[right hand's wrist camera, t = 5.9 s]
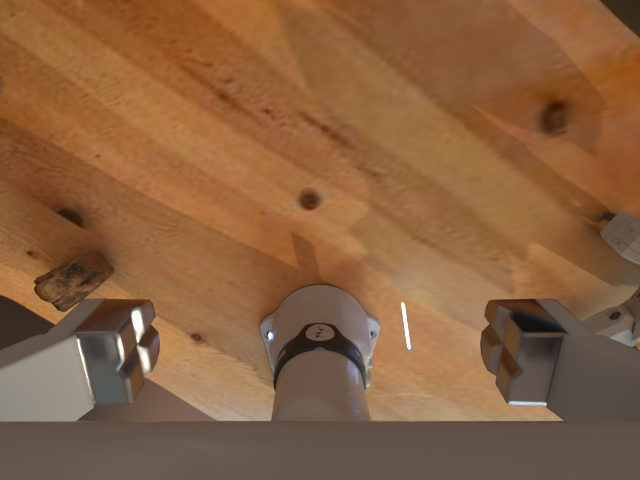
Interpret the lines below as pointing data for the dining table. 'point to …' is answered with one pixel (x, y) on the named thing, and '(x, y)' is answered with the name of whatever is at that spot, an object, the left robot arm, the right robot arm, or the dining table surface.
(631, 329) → the robot
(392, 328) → the dining table surface
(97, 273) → the decorative rock
